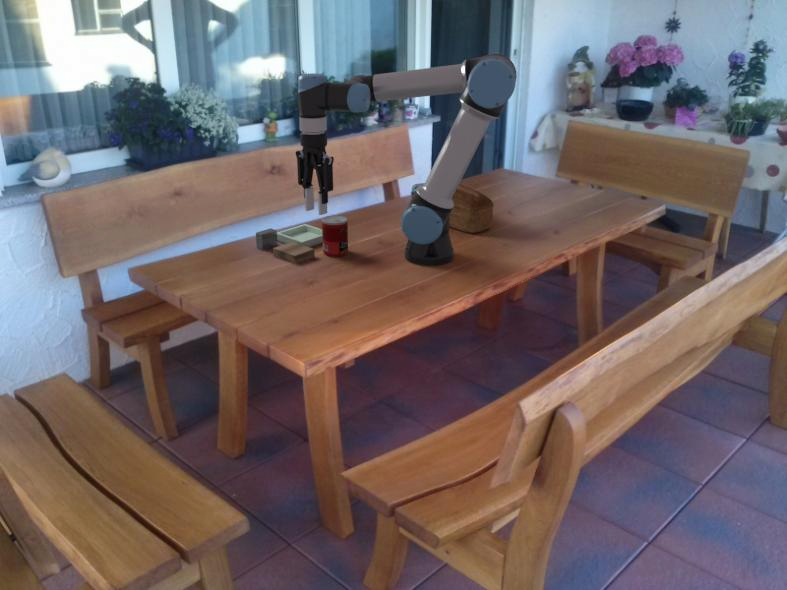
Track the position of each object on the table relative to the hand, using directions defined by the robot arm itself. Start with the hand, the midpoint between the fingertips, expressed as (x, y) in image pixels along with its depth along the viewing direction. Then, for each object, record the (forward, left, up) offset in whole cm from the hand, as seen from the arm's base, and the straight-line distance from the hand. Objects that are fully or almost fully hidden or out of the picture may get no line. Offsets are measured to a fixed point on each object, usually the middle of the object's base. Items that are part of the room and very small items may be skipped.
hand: (316, 211), depth 219 cm
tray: (+20, -12, -17) cm, 29 cm away
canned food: (+4, -11, -17) cm, 21 cm away
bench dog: (+24, 0, -17) cm, 29 cm away
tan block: (+11, 0, -17) cm, 20 cm away
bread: (-4, -60, -17) cm, 63 cm away
